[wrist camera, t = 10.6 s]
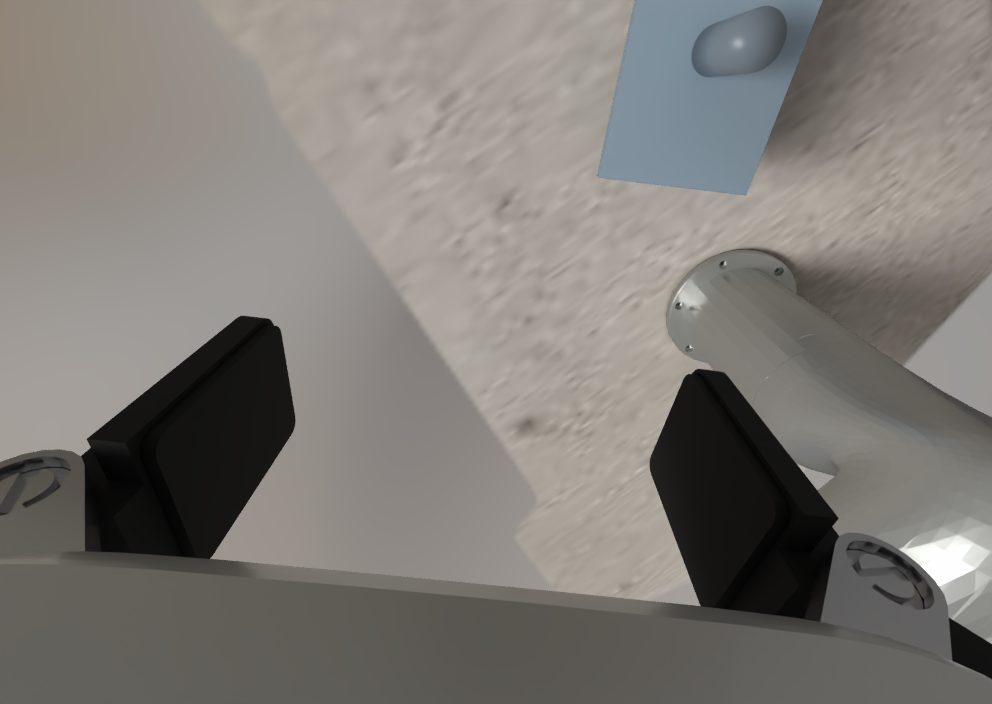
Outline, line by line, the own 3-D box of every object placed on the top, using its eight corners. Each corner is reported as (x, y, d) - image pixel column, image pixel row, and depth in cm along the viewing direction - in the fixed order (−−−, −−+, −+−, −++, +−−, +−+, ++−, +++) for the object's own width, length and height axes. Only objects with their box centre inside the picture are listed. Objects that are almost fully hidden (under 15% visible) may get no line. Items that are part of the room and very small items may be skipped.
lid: (856, -114, 22) (964, -180, 17) (739, 192, 29) (787, 212, 24) (664, -141, 21) (713, -217, 16) (596, 175, 29) (615, 192, 24)
